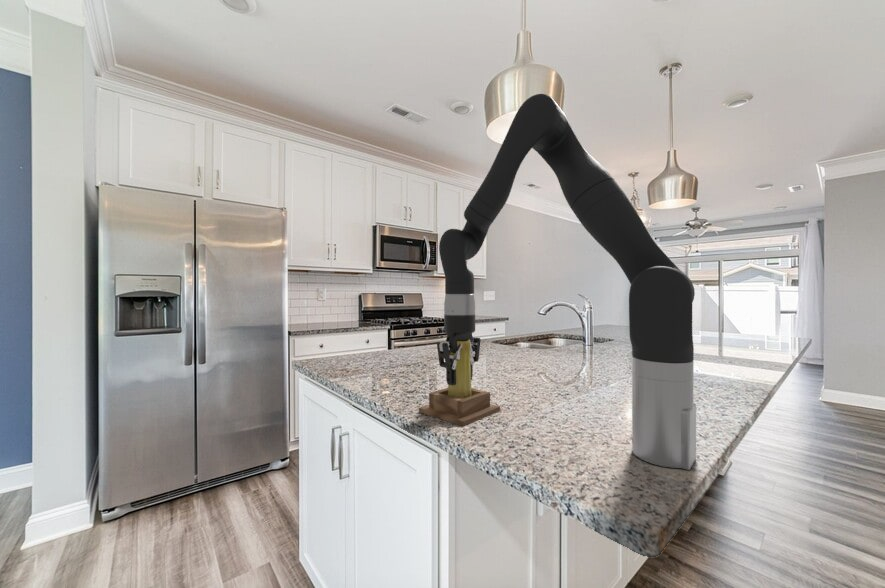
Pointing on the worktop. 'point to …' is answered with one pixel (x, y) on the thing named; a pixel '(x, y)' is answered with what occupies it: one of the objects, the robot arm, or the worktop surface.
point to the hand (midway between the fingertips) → (459, 382)
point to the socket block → (459, 407)
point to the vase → (462, 373)
